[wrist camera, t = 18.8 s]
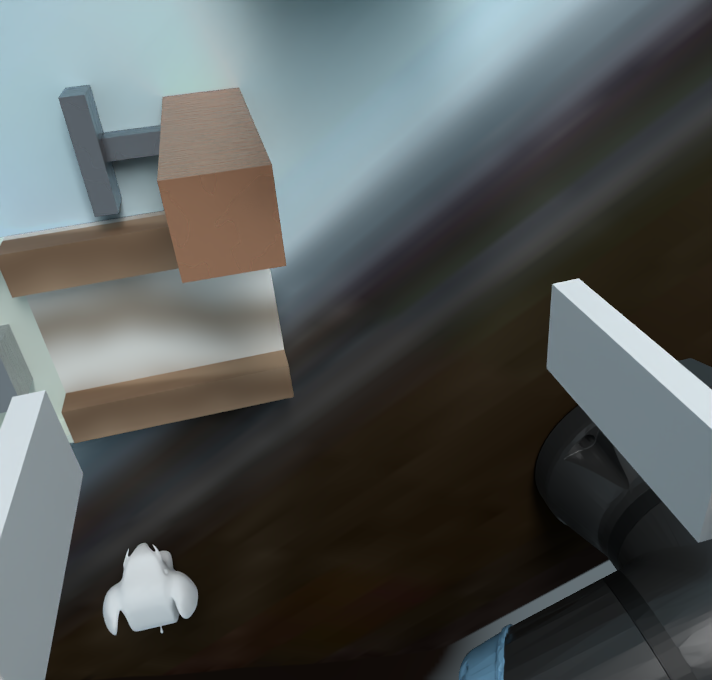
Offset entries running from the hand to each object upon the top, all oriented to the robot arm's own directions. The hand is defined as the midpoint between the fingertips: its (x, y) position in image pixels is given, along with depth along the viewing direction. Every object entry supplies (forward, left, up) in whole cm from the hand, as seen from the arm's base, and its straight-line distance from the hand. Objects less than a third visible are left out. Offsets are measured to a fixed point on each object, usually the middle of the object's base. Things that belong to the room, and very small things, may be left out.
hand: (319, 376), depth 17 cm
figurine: (-31, +13, -24) cm, 41 cm away
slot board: (-10, +7, -23) cm, 26 cm away
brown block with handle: (+1, +4, -23) cm, 24 cm away
